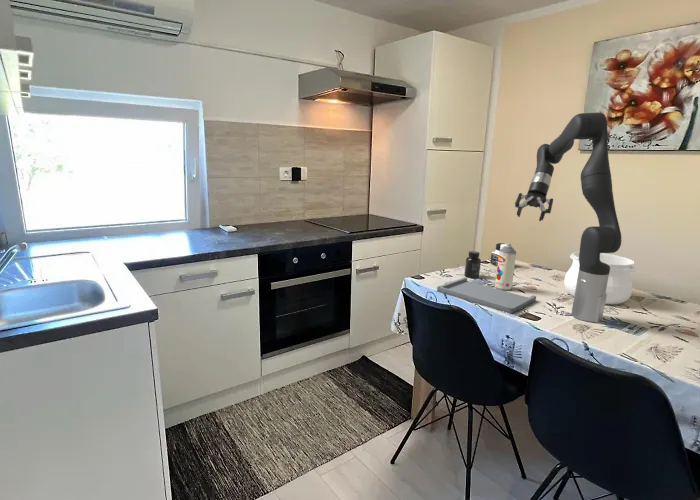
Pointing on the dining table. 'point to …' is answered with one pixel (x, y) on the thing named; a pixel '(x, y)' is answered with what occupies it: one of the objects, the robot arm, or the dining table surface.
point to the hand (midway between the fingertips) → (529, 218)
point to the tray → (486, 295)
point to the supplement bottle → (472, 265)
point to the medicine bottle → (496, 254)
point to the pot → (617, 280)
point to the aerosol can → (505, 268)
